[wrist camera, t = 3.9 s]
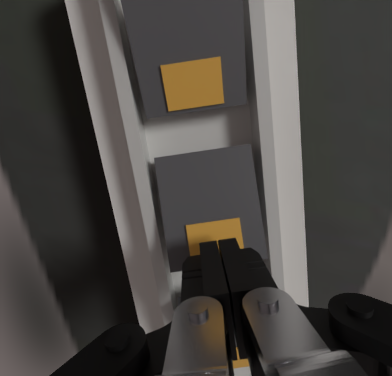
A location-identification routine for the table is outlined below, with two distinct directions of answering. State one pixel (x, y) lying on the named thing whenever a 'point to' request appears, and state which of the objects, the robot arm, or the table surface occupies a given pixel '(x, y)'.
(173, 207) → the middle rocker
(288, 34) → the power strip
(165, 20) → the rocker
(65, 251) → the table surface
